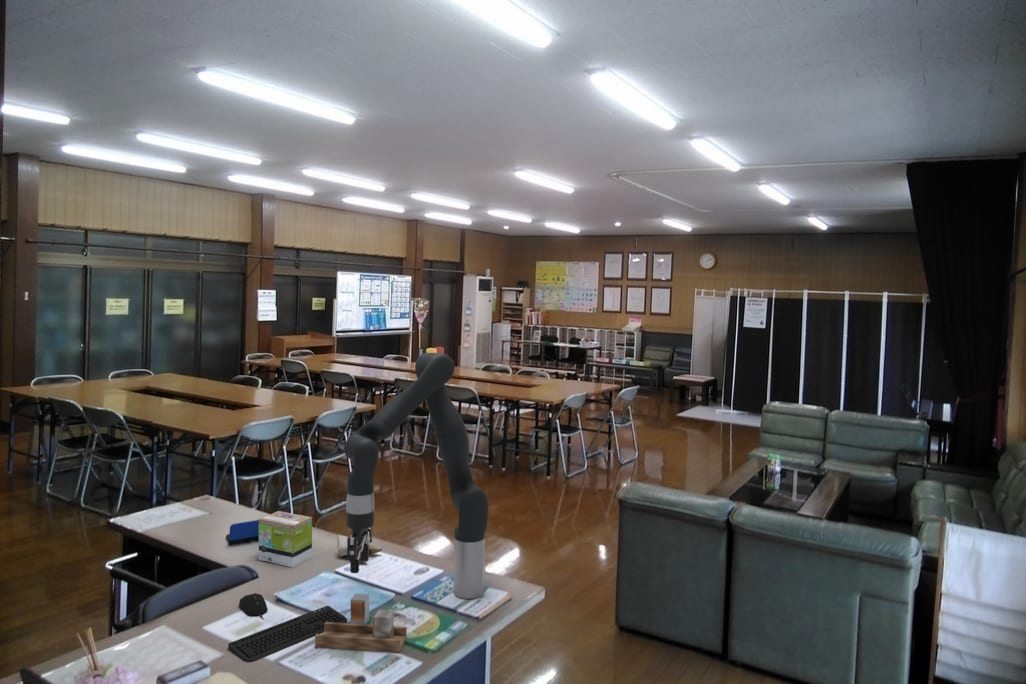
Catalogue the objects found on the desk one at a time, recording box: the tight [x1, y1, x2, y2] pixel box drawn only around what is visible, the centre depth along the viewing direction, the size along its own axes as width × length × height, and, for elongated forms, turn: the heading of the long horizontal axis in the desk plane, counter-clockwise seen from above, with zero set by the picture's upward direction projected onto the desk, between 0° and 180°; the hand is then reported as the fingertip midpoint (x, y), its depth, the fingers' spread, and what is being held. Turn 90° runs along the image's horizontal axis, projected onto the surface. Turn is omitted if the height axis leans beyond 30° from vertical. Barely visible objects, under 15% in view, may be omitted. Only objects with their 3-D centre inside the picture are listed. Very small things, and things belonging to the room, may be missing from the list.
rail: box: [314, 609, 408, 653], centre depth 175 cm, size 22×8×8 cm, turn 85°
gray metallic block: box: [350, 593, 370, 624], centre depth 186 cm, size 4×5×7 cm
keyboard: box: [227, 605, 348, 663], centre depth 179 cm, size 30×11×2 cm, turn 139°
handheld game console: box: [225, 519, 259, 546], centre depth 248 cm, size 16×13×9 cm
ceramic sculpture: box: [337, 534, 383, 563], centre depth 232 cm, size 11×9×15 cm
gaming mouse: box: [238, 592, 269, 621], centre depth 192 cm, size 6×15×4 cm, turn 38°
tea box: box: [258, 510, 313, 569], centre depth 229 cm, size 15×10×15 cm
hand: (359, 566), depth 185 cm, fingers open, 8 cm apart
